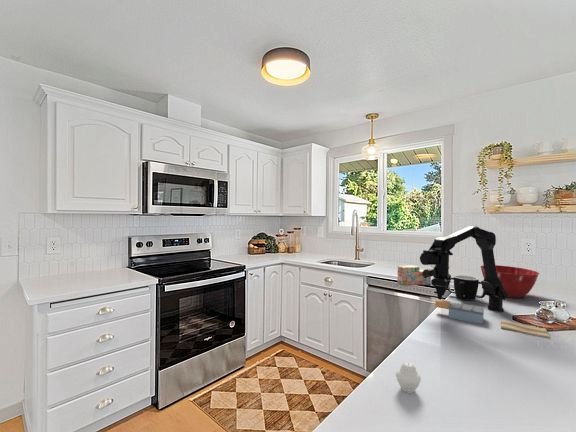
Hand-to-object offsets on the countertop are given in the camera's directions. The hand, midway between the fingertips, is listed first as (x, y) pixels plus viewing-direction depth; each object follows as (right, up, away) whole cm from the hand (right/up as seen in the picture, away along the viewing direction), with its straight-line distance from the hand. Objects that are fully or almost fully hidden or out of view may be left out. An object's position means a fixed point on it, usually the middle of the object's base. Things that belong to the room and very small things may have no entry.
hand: (441, 297), depth 141 cm
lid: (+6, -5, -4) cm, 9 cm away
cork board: (+25, -8, -18) cm, 32 cm away
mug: (+28, -8, +27) cm, 39 cm away
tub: (+8, -8, -6) cm, 13 cm away
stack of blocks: (+12, -8, +59) cm, 61 cm away
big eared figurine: (+38, -8, +77) cm, 86 cm away
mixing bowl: (+59, -9, +38) cm, 71 cm away
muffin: (-41, -7, -63) cm, 76 cm away
